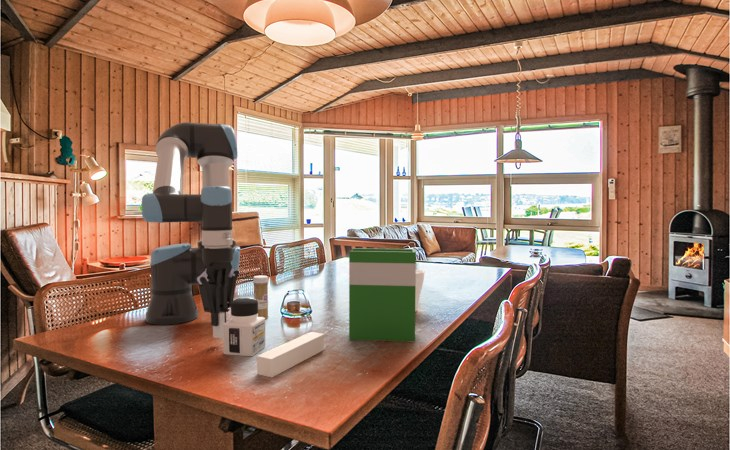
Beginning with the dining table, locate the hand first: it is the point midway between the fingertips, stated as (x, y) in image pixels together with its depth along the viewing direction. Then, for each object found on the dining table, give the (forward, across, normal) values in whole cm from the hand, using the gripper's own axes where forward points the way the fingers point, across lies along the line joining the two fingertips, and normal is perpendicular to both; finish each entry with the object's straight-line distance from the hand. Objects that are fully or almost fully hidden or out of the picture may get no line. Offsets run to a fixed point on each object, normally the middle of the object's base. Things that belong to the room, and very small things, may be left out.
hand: (219, 337), depth 116 cm
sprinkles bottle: (+2, +25, +8) cm, 26 cm away
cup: (+2, +57, -29) cm, 64 cm away
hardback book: (+2, +27, -34) cm, 43 cm away
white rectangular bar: (+2, 0, -24) cm, 24 cm away
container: (+2, 0, -9) cm, 9 cm away
